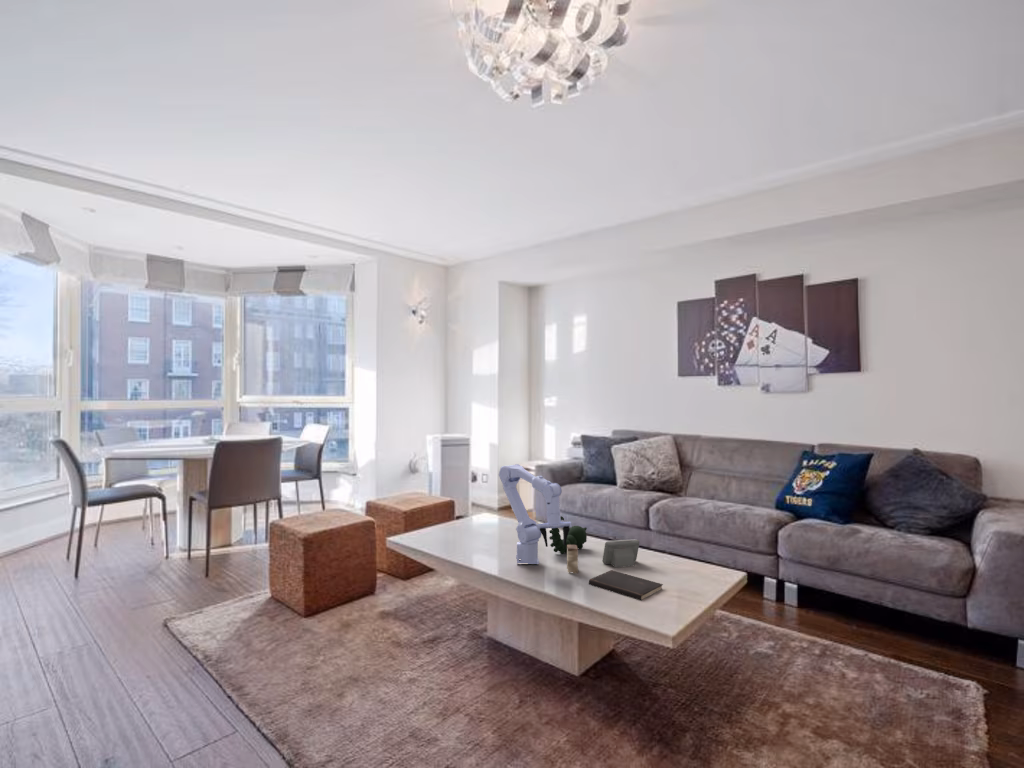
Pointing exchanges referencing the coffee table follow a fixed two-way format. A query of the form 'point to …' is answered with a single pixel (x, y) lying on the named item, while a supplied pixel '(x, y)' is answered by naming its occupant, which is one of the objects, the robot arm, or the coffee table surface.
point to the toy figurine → (568, 538)
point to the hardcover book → (626, 584)
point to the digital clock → (621, 552)
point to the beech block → (572, 558)
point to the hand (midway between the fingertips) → (555, 545)
